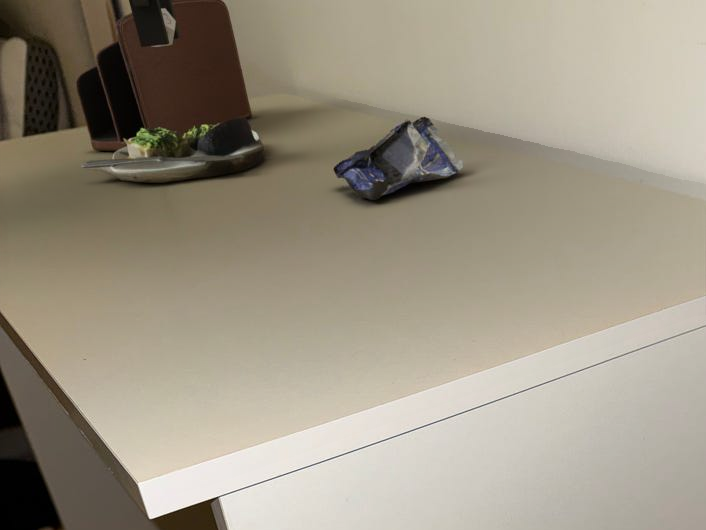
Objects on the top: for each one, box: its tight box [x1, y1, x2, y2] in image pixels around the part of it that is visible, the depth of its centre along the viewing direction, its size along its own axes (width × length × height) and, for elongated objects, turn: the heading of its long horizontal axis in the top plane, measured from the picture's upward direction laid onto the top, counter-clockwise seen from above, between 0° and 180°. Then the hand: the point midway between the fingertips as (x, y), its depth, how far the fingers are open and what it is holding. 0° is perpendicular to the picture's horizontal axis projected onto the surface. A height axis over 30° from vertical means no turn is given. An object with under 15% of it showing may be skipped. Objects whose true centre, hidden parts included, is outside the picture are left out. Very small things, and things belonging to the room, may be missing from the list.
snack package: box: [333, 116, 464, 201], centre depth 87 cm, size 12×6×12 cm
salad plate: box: [81, 118, 264, 184], centre depth 101 cm, size 19×18×5 cm
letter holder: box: [74, 0, 253, 152], centre depth 114 cm, size 10×20×14 cm, turn 155°
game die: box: [151, 9, 176, 47], centre depth 94 cm, size 4×4×3 cm
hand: (160, 41), depth 95 cm, fingers closed on game die, 4 cm apart
